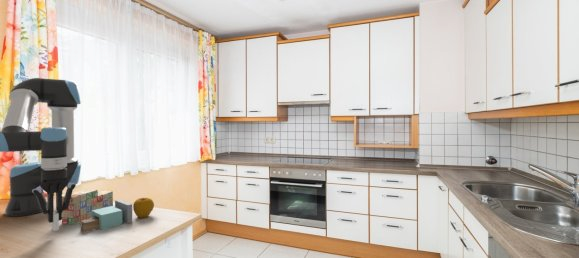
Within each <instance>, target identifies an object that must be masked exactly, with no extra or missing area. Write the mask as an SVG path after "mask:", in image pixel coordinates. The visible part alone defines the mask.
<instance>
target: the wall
mask: <svg viewBox="0 0 579 258" xmlns="http://www.w3.org/2000/svg"><path fill="white" fill-rule="evenodd" d="M114 207H115V208H118V209H120V210H122V222H124V223H126V224H130V223H133V203H130V202H128V201H124V200H122V199H115V200H114Z"/></svg>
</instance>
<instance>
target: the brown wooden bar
mask: <svg viewBox="0 0 579 258" xmlns="http://www.w3.org/2000/svg"><path fill="white" fill-rule="evenodd" d="M96 230H100V229H99V217H95V218H90V219H87V220H83V221H81V222H80V231H82V232H83V233H88V232H92V231H96Z"/></svg>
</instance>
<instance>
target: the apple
mask: <svg viewBox="0 0 579 258" xmlns="http://www.w3.org/2000/svg"><path fill="white" fill-rule="evenodd" d="M154 207H155V203H154V201H153V199H151V198H149V197H140V198H137V199H136V200H135V201H134V202H133V203H132V211H133V212H134V215H135V216H136V217H138V218H140V219H145V218H147V217H148V216H149V215H151V213H152V212H153V210H154Z"/></svg>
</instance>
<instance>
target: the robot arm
mask: <svg viewBox="0 0 579 258" xmlns="http://www.w3.org/2000/svg"><path fill="white" fill-rule="evenodd" d="M8 98H9V100H10V102H9V103H10V104H9V106H8V109H7V112H6V115H5V119H4V122H3V124H2V128H1V130H0V153H4V152H5V153H10V152H31V151H34V152H35V151H40V161H37V162H29V163H23V164H18V165H15V166H13V167H11V168H10V173H9V187H10V188H9V189H10V191H9V192H10V194H9V195H10V196H9V197H10V198H9V200H8V202H7V205H6V208H5V211H4V214H5V216H6V217H23V216H29V215H30V216H31V215H35V214H36V215H37V214H39V213H42V214H44V215H47V222H48V223H50V225H51V231H53V232H57V231H59V230H60V227H59V226H60V224H59V223H60V222H59V221H62V212H63V210H66V209H68V206H69V202H70V198H71V195H72V193H73V191H74V189H75V188H76V187H77V186H76V185H78V183H79V181H80V175H81V168H82V167H81V166H82V163H81V162H79V159H78V158H76V156H75V137H74V136H75V129H74V127H75V125H74V124H75V123H74V120H75V119H74V118H75V117H74V116H75V115H74V113H75V112H74V111H75V110H76V109H78V105H81V103H82V102H81V101H82V100H81V96H80V90H79V86H78V83H77V82H76V81H74V80H68V79H57V78H56V79H55V78H42V77H33V78H29V79H26V80H23V81H21V82H19V83H17V84H16V85H15V86H14V87H12V88H11V90H10V92H9V97H8ZM38 103H43V104H44V103H45V104H47V108H48V109H49V110H51V127H50V126H49V127H42V128H41V130H40V131H38V130H36V131H31V130H30V127H31V124H32V123H31V122H32V117H33V113H34V109H35V106H36V105H37V104H38ZM65 189H66V190H65ZM64 190H65V191H66V192H65V198H64V201H63V205H62V196H63V191H64ZM44 192H45V193H46V195H47V196H46V197H47V198H46V197H45V194H44ZM54 195H55V197H54ZM54 199H55V206H54ZM54 207H56V208H55V210H54Z"/></svg>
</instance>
